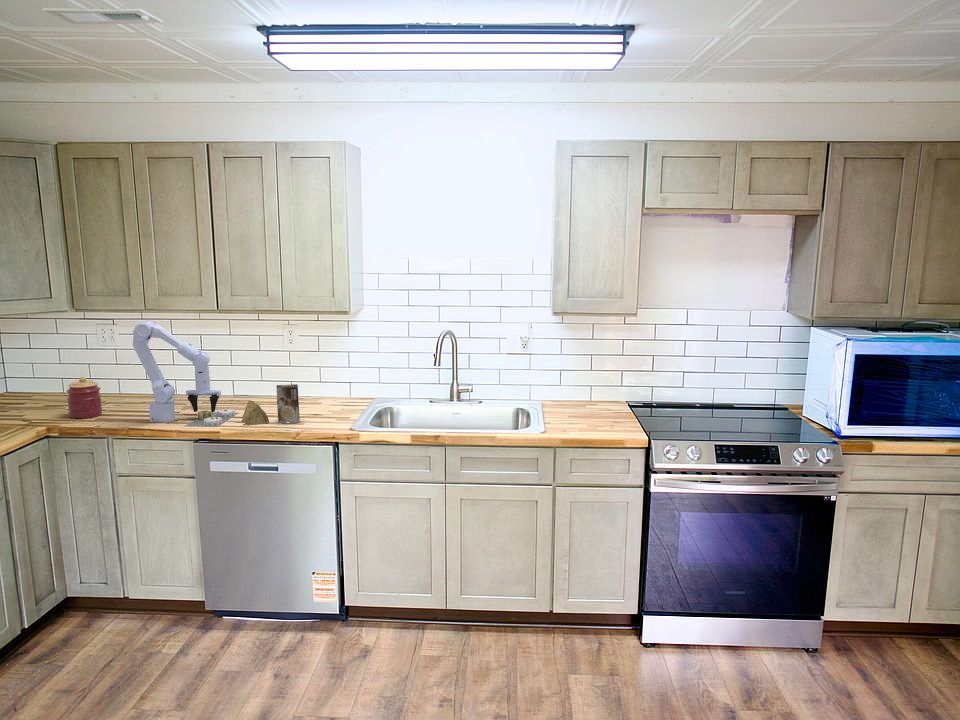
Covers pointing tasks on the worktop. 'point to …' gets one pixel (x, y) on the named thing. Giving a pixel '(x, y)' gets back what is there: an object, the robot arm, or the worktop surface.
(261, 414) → the rock
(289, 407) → the coffee box
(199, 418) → the brass gear
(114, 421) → the worktop surface
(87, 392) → the canister
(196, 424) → the gear board
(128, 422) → the worktop surface
